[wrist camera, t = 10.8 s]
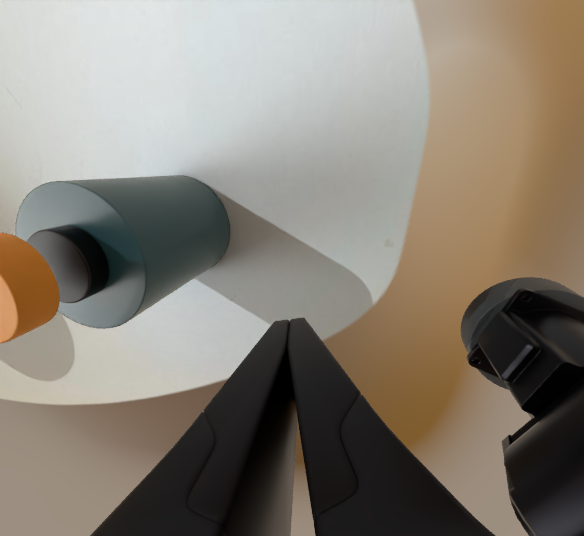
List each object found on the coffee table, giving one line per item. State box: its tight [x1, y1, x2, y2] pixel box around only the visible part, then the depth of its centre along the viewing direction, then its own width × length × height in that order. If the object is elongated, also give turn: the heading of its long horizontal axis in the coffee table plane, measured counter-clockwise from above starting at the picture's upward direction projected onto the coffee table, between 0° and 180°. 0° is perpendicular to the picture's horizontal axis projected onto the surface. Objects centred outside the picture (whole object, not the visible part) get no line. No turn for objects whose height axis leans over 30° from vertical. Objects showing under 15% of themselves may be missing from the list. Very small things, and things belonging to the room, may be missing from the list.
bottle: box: [16, 176, 230, 328], centre depth 18 cm, size 7×7×10 cm
